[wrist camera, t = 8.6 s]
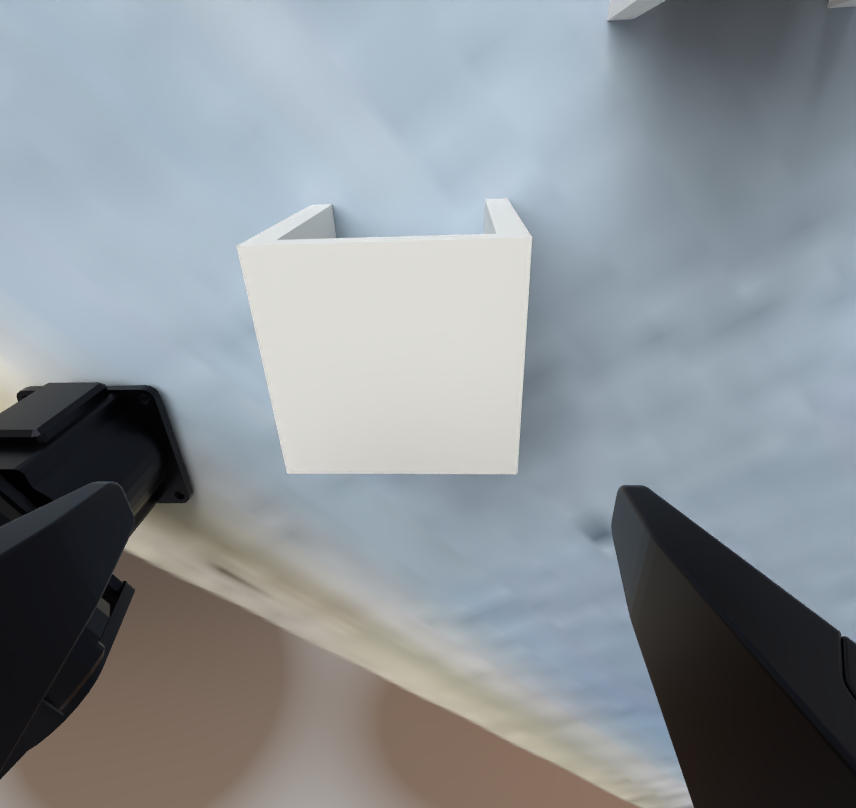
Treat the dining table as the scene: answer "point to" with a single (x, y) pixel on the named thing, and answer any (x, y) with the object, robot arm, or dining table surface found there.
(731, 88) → the dining table surface
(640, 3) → the cover
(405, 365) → the cover
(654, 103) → the dining table surface
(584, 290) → the dining table surface
